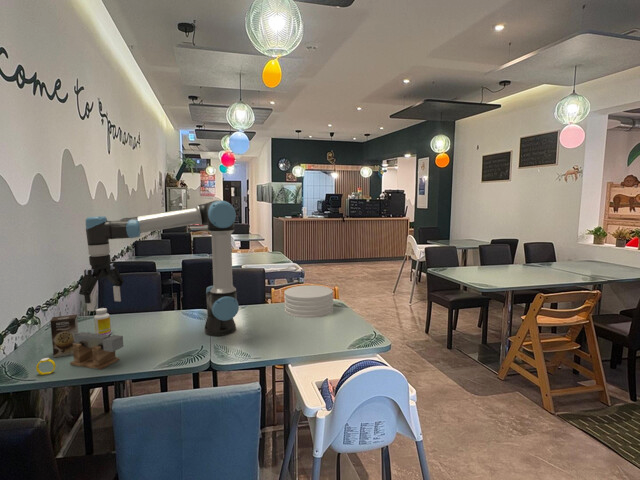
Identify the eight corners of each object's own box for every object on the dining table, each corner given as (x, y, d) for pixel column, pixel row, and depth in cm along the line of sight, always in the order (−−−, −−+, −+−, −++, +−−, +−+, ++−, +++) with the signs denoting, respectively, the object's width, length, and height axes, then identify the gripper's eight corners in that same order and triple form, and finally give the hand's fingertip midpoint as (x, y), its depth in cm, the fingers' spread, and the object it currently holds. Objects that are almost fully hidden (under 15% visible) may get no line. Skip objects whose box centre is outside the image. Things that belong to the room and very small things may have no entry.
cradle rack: (119, 360, 161) (118, 340, 160) (101, 369, 152) (99, 348, 151) (89, 355, 166) (87, 336, 165) (70, 364, 157) (68, 344, 156)
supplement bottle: (114, 333, 192) (112, 308, 191) (101, 338, 186) (99, 312, 185) (105, 331, 195) (103, 306, 193) (92, 336, 189) (90, 310, 187)
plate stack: (290, 302, 242) (290, 284, 240) (335, 304, 238) (335, 285, 236) (279, 317, 214) (279, 297, 213) (330, 318, 210) (329, 298, 209)
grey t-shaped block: (123, 346, 157) (122, 335, 157) (112, 351, 152) (111, 340, 151) (84, 341, 163) (83, 331, 163) (73, 346, 158) (71, 335, 157)
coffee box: (53, 358, 164) (49, 321, 162) (56, 352, 170) (52, 316, 168) (78, 354, 168) (74, 317, 166) (80, 348, 174) (77, 313, 172)
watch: (36, 377, 148) (33, 362, 147) (39, 373, 150) (36, 359, 149) (54, 373, 149) (52, 358, 149) (57, 370, 152) (54, 356, 151)
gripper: (116, 249, 170) (120, 297, 173) (64, 260, 146) (70, 314, 149) (130, 250, 168) (134, 297, 171) (80, 260, 144) (86, 315, 147)
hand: (104, 305), depth 160 cm, fingers open, 13 cm apart
